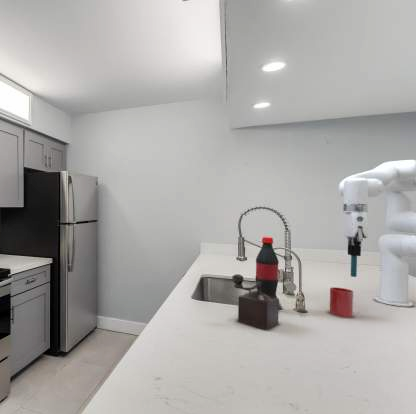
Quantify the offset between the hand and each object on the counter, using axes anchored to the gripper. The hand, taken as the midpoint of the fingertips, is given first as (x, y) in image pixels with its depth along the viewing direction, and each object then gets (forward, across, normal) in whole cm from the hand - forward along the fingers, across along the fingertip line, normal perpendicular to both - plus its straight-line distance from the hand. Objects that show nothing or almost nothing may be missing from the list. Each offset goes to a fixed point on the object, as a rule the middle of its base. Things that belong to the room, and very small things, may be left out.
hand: (354, 254), depth 125 cm
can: (+24, 0, +4) cm, 25 cm away
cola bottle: (+25, -4, +31) cm, 40 cm away
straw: (+9, 0, 0) cm, 9 cm away
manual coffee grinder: (+25, -27, +38) cm, 53 cm away
